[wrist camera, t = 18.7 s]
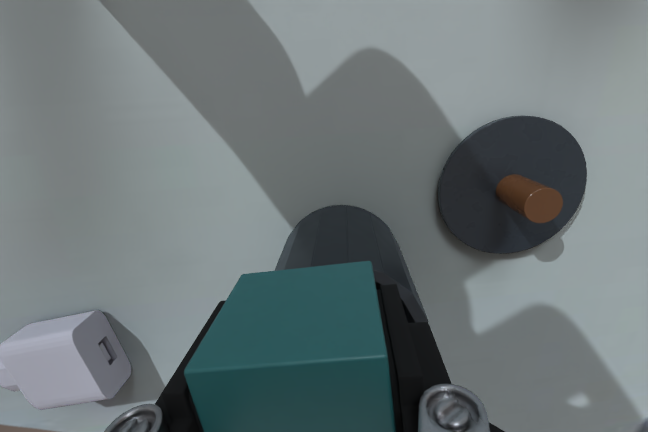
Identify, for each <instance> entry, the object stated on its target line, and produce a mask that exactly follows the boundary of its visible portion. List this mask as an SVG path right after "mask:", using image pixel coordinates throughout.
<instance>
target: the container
mask: <svg viewBox="0 0 648 432" xmlns="http://www.w3.org/2000/svg"><path fill="white" fill-rule="evenodd" d="M362 261H371V263H372V267H373V273H374V279H375V284H376V290H380V285H389V284H397V287H398V291H399V294H400V298H401V301H402V305H403V308H404V312H405V315H406V319H407V322H408V323H415V322H428V319H427V316H426V314H425V311H424V309H423V306H422V304H421V301H420V299H419V296H418V293H417V291H416V288H415V286H414V283H413V281H412V278H411V276H410V273H409V271H408V268H407V265H406V263H405V260H404V258H403V255H402V253H401V250H400V248H399V245H398V243H397V241H396V240H395V238H394V236H393V234H392V232H391V231H390V229H389V227H388V226H387V225H386V224H385V223H384V222H383V221H382V220H381V219H380V218H378V217H377V216H375V215H374V214H372V213H371V212H368V211H366V210H364V209H361V208H358V207H353V206H346V205H337V206H329V207H325V208H322V209H319V210H317V211H314V212H312V213H311V214H309V215H308V216H306V217H305V218H304V219H302V220H301V221H300V222H299V223H298V224H297V225H296V227H295V228H294V229H293V231H292V232H291V234H290V235H289V237H288V239H287V241H286V244H285V246H284V248H283V251H282V253H281V256H280V258H279V261H278V263H277V266H276V268H275V271H278V270H287V269H297V268H306V267H315V266H325V265H334V264H343V263H353V262H362Z"/></svg>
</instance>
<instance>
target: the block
mask: <svg viewBox="0 0 648 432" xmlns="http://www.w3.org/2000/svg"><path fill="white" fill-rule="evenodd" d="M184 376H185V379H186V382H187V385H188V388H189V390H190V393H191V396H192V399H193V402H194V405H195V408H196V411H197V414H198V417H199V419H200V422H201V425H202V428H203V431H204V432H396V427H395V417H394V408H393V399H392V390H391V380H390V371H389V362H388V354H387V348H386V342H385V336H384V331H383V325H382V319H381V313H380V308H379V302H378V296H377V290H376V284H375V279H374V273H373V267H372V263H371V261H362V262H353V263H343V264H334V265H325V266H315V267H306V268H297V269H287V270H278V271H269V272H259V273H250V274H243V275H241V277H240V278H239V280H238V282H237V283H236V285H235V287H234V288H233V290H232V292H231V293H230V295H229V297H228V298H227V300H226V302H225V303H224V305H223V307H222V308H221V310H220V312H219V313H218V315H217V317H216V318H215V320H214V321H213V323H212V325H211V326H210V328H209V330H208V331H207V333H206V335H205V336H204V338H203V340H202V341H201V343H200V345H199V346H198V348H197V350H196V351H195V353H194V355H193V356H192V358H191V359H190V361H189V363H188V364H187V366H186V368H185V369H184Z"/></svg>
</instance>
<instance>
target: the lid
mask: <svg viewBox="0 0 648 432" xmlns="http://www.w3.org/2000/svg"><path fill="white" fill-rule="evenodd" d="M586 177H587V170H586V162H585V158H584V154H583V152H582V150H581V147H580V146H579V144H578V142H577V141H576V139H575V138H574V137H573V136H572V135H571V134H570V133H569V132H568V131H567V130H566V129H564V128H563V127H562V126H560V125H558V124H556V123H555V122H553V121H550V120H547V119H544V118H539V117H534V116H511V117H506V118H501V119H498V120H495V121H492V122H490V123H488V124H486V125H484V126H482V127H480V128H478V129H477V130H475V131H474V132H472V133H471V134H470V135H468V136H467V137H466V138H465V139H464V140H463V141H462V142H461V143H460V144H459V145H458V146H457V147H456V148H455V150H454V151H453V152H452V154H451V155H450V157H449V158H448V160H447V162H446V164H445V166H444V168H443V171H442V174H441V177H440V181H439V187H438V201H439V207H440V211H441V214H442V217H443V219H444V221H445V223H446V224H447V226H448V228H449V229H450V230H451V231H452V232H453V234H454V235H455V236H456V237H457V238H459V239H460V240H461V241H462V242H464V243H465V244H467V245H469V246H471V247H473V248H475V249H478V250H481V251H484V252H489V253H500V254H501V253H513V252H519V251H523V250H526V249H529V248H532V247H534V246H537V245H539V244H541V243H542V242H544V241H546V240H547V239H549V238H551V237H552V236H553V235H555V234H556V233H557V232H558V231H559V230H561V229H562V228H563V226H564V225H565V224H566V223H567V222H568V221H569V220H570V218H571V217H572V216H573V214H574V213H575V211H576V210H577V208H578V206H579V204H580V202H581V200H582V197H583V194H584V191H585V186H586Z"/></svg>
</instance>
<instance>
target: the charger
mask: <svg viewBox="0 0 648 432" xmlns="http://www.w3.org/2000/svg"><path fill="white" fill-rule="evenodd" d="M130 375H131V365H130V362H129V360H128V358H127V356H126V354H125V352H124V350H123V348H122V346H121V344H120V342H119V340H118V339H117V337H116V335H115V333H114V331H113V329H112V327H111V325H110V323H109V322H108V320H107V318H106V316H105V315H104V314H103V313H102V312H101V311H98V310H96V311H91V312H86V313H81V314H76V315H71V316H66V317H61V318H55V319H50V320H45V321H40V322H35V323H30V324H28V325H26V326H25V327H23V328H22V329H20V330H19V331H18V332H16V333H15V334H13V335H12V336H11V337H9V338H8V339H6V340H5V341H4V342H2V343H1V344H0V385H1V386H2V387H3V388H6V389H9V390H11V391H20V390H21V392H22V393H23V395H24V396H25V398H26V399H27V401H28V402H29V403H30V404H32V405H33V406H34V407H35V408H37V409H39V410H43V409H50V408H56V407H62V406H68V405H75V404H81V403H87V402H93V401H100V400H106V399H112V398H113V397H114V396H115V395H116V393H117V392H118V391H119V389H120V388H121V387H122V386H123V384H124V383H125V382H126V380H127V379H128V378H129V377H130Z"/></svg>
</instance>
